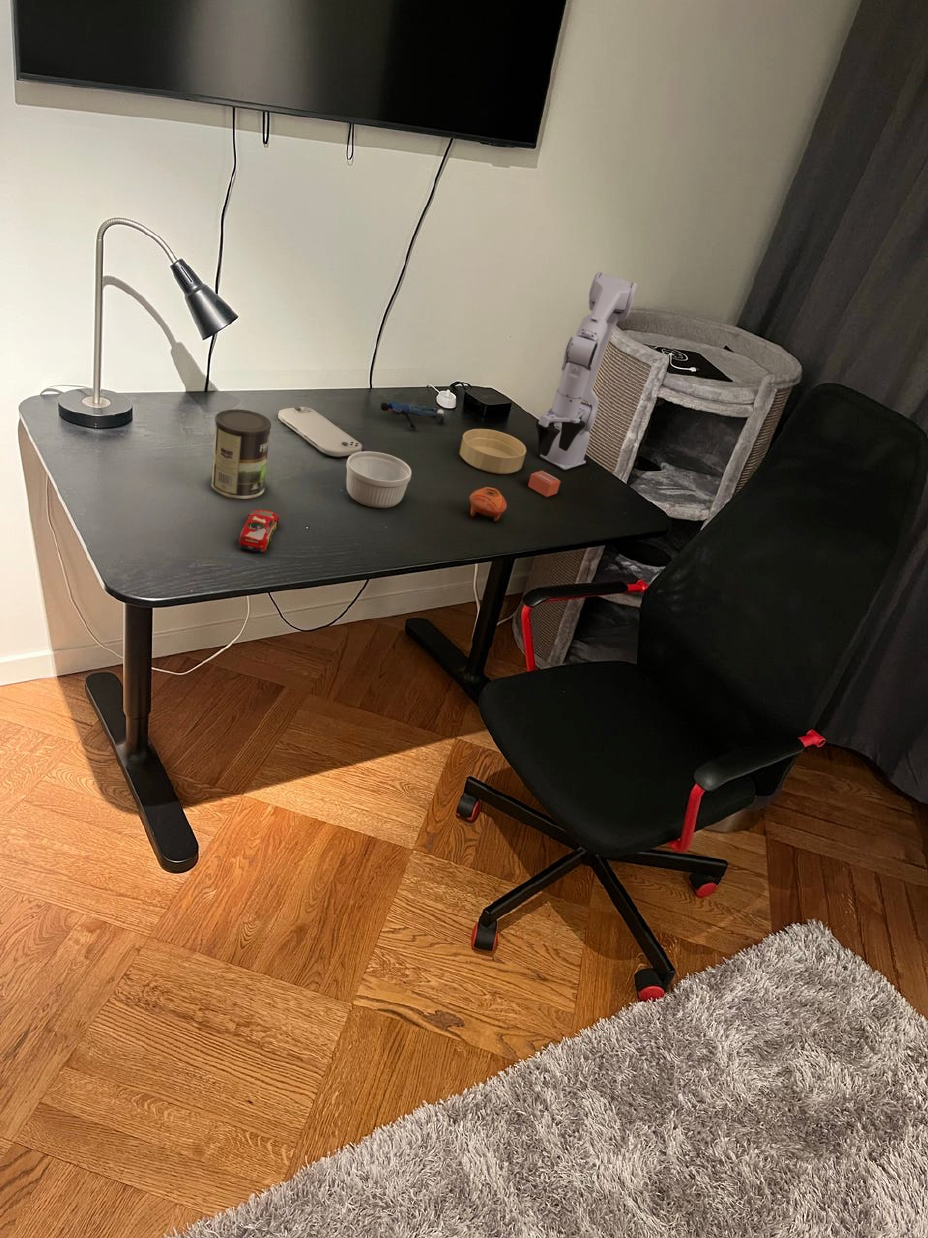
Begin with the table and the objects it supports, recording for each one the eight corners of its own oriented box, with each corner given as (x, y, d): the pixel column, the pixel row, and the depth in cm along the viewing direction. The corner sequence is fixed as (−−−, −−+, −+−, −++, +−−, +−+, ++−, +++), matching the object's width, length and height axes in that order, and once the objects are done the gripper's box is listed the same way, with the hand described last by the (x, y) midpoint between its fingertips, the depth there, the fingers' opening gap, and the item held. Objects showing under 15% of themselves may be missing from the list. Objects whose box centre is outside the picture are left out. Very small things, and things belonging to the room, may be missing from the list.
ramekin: (415, 495, 192) (421, 465, 189) (390, 518, 182) (396, 487, 178) (358, 474, 195) (363, 444, 191) (331, 496, 184) (335, 465, 180)
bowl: (487, 441, 224) (491, 424, 222) (534, 467, 217) (539, 450, 215) (445, 452, 214) (449, 434, 211) (494, 480, 207) (498, 462, 204)
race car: (252, 516, 171) (254, 497, 169) (281, 522, 171) (283, 504, 169) (233, 550, 160) (235, 530, 158) (264, 556, 160) (266, 537, 158)
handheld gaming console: (273, 406, 208) (309, 402, 214) (272, 417, 209) (308, 413, 216) (331, 449, 195) (368, 444, 202) (329, 461, 197) (366, 455, 203)
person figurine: (428, 417, 234) (367, 408, 223) (433, 400, 232) (372, 391, 221) (449, 435, 226) (387, 427, 216) (455, 418, 224) (392, 410, 214)
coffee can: (267, 479, 184) (274, 414, 176) (261, 503, 176) (267, 435, 168) (215, 470, 182) (219, 404, 175) (206, 494, 174) (210, 425, 166)
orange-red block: (538, 482, 211) (542, 468, 209) (556, 493, 208) (561, 479, 206) (527, 486, 208) (531, 472, 206) (546, 497, 205) (550, 482, 203)
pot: (463, 501, 194) (477, 475, 191) (496, 516, 196) (510, 490, 192) (462, 518, 187) (477, 490, 184) (496, 533, 189) (511, 506, 185)
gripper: (564, 404, 189) (547, 464, 196) (603, 397, 199) (585, 454, 206) (538, 391, 192) (522, 450, 199) (578, 384, 202) (561, 441, 209)
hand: (552, 451), depth 203 cm, fingers open, 7 cm apart
